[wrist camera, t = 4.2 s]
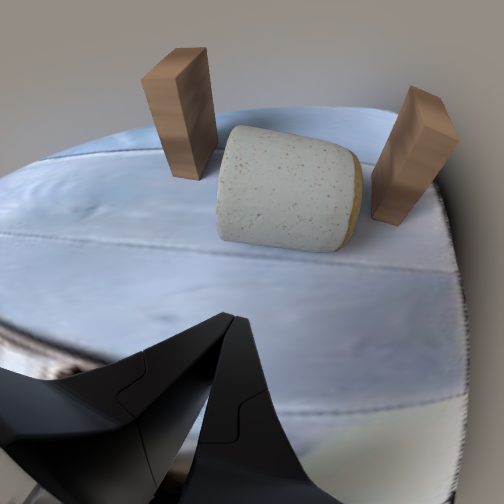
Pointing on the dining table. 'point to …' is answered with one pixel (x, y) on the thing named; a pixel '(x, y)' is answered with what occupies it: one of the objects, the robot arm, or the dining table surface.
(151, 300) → the dining table surface
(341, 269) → the dining table surface
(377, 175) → the walnut bookends
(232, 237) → the ceramic mug
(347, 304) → the dining table surface
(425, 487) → the dining table surface
